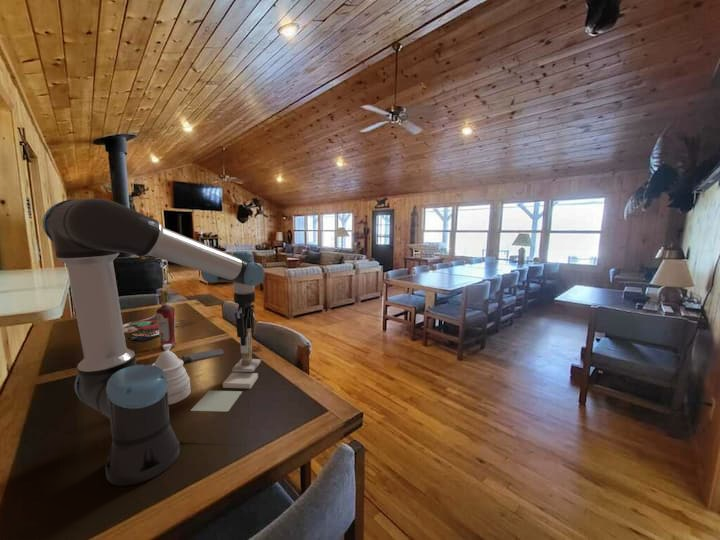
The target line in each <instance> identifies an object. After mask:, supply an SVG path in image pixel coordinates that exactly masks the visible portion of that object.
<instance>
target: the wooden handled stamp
mask: <svg viewBox="0 0 720 540" xmlns="http://www.w3.org/2000/svg"><path fill="white" fill-rule="evenodd" d="M247 336H248V353H241V352H240V354H241V359H239V361H238V362H237V363H236V364H235V365H234V366H233V367H232V369H231V372H239V373H254V371H255V370H256V369H257V368H258V366H259V365H260V364H261V362H262V358H259V359H258V358H253V346H252V345H253V344H252V343H253V341H252V340H253V339H252V338H251V336H252V332H251V328H247Z"/></svg>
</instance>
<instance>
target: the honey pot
mask: <svg viewBox="0 0 720 540" xmlns="http://www.w3.org/2000/svg"><path fill="white" fill-rule="evenodd" d="M171 346H172V344H165V345H163V348H164V349H163V350H164V351H162V352H161V353H160V354H159V355H158V357H157V359H156V360H155V362H153V363H154V364H153V363H151V364H152V365H154V366H157V367H159V368H161V369H162V370H163V371H164V372H165V375H166V380H167V383H168V389H167V391H168V405H173V404H176V403H178V402H181V401H183V400H184V399H186V398H187V397H188V396H189V395H190V394H191V379H190V376H189V375H188V372H187V369H186V368H185V366H183V365H184V364H183V363H184V362H183V360H181V359H182V358H181V359H180V358H178V356H177V355H176V353H174V352H173V351H171V349H172V348H171Z"/></svg>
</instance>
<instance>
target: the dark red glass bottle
mask: <svg viewBox="0 0 720 540" xmlns="http://www.w3.org/2000/svg"><path fill="white" fill-rule="evenodd" d="M168 292H169V291H168V290H167V289H162V290H160V295H161V305H160V306H161V307H158V308H157V309H156V310H155V311H156V315H157V320H156V321H158V323H157V324H158V327H159V329H158V330H159V335H160V336H159V343H160V344H159V348H160V349H162V350H164V348H163V345H165V344H172V346H171V349H173V348H174V347H175V346H176V345H177V342H176V334H175V333H176V329H175V326H176V324H175V321H176V315H175V314H176V313H175V308H174V307H173V306H170V305H169V299H168V295H169V294H168Z"/></svg>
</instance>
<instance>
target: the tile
mask: <svg viewBox="0 0 720 540" xmlns="http://www.w3.org/2000/svg"><path fill="white" fill-rule="evenodd" d="M258 379H259V373H258V372H231V373H230V374H229V375H228V377H227V378H226V379H224V381H223V382H222V389H252V387H253V385H255V383H256V381H257V380H258Z"/></svg>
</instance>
